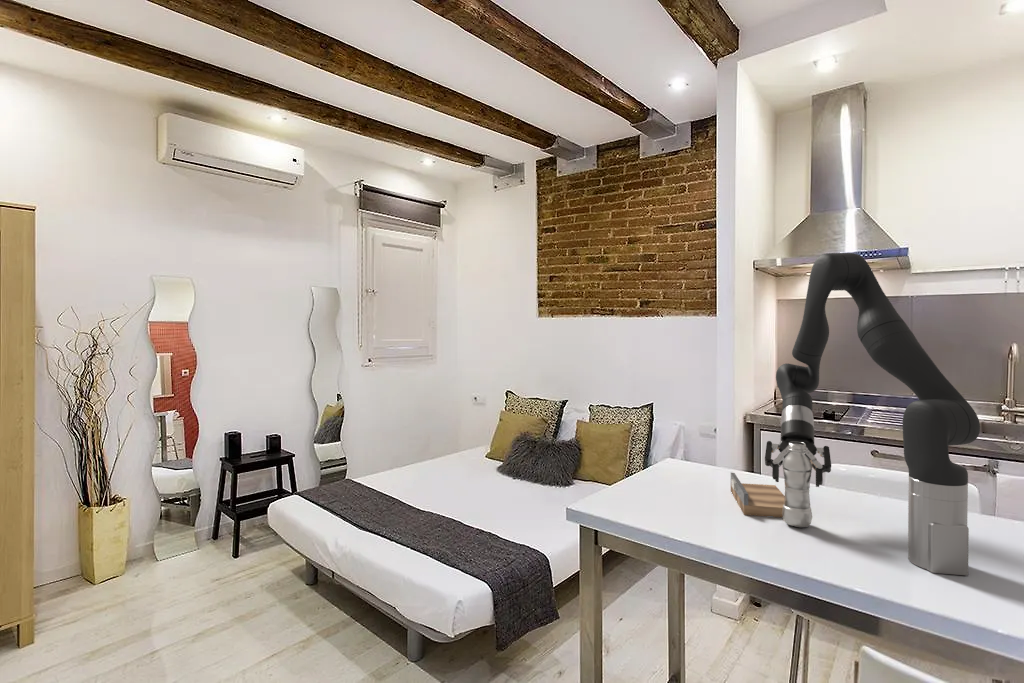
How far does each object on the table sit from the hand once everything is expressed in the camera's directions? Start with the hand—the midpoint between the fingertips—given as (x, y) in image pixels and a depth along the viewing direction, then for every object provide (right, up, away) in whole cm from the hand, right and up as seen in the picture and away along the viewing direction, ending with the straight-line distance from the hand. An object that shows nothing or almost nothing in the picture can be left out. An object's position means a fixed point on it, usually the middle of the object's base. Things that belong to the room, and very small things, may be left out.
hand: (797, 482), depth 125 cm
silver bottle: (+1, -11, +1) cm, 11 cm away
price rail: (-6, -8, +18) cm, 21 cm away
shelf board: (-1, -10, +17) cm, 20 cm away
